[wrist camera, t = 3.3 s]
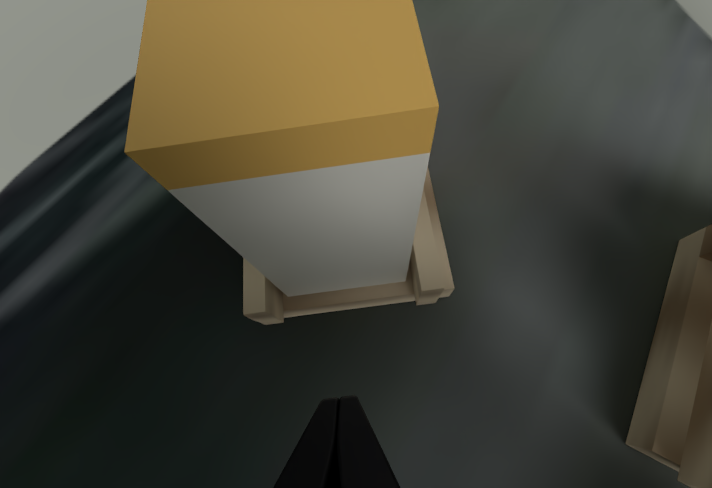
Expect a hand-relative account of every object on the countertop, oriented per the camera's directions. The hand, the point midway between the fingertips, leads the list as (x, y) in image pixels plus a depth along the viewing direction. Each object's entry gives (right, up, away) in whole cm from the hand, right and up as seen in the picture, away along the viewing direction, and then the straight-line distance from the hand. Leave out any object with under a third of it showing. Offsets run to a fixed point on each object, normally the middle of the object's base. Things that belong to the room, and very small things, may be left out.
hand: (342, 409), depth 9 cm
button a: (0, +4, +7) cm, 8 cm away
